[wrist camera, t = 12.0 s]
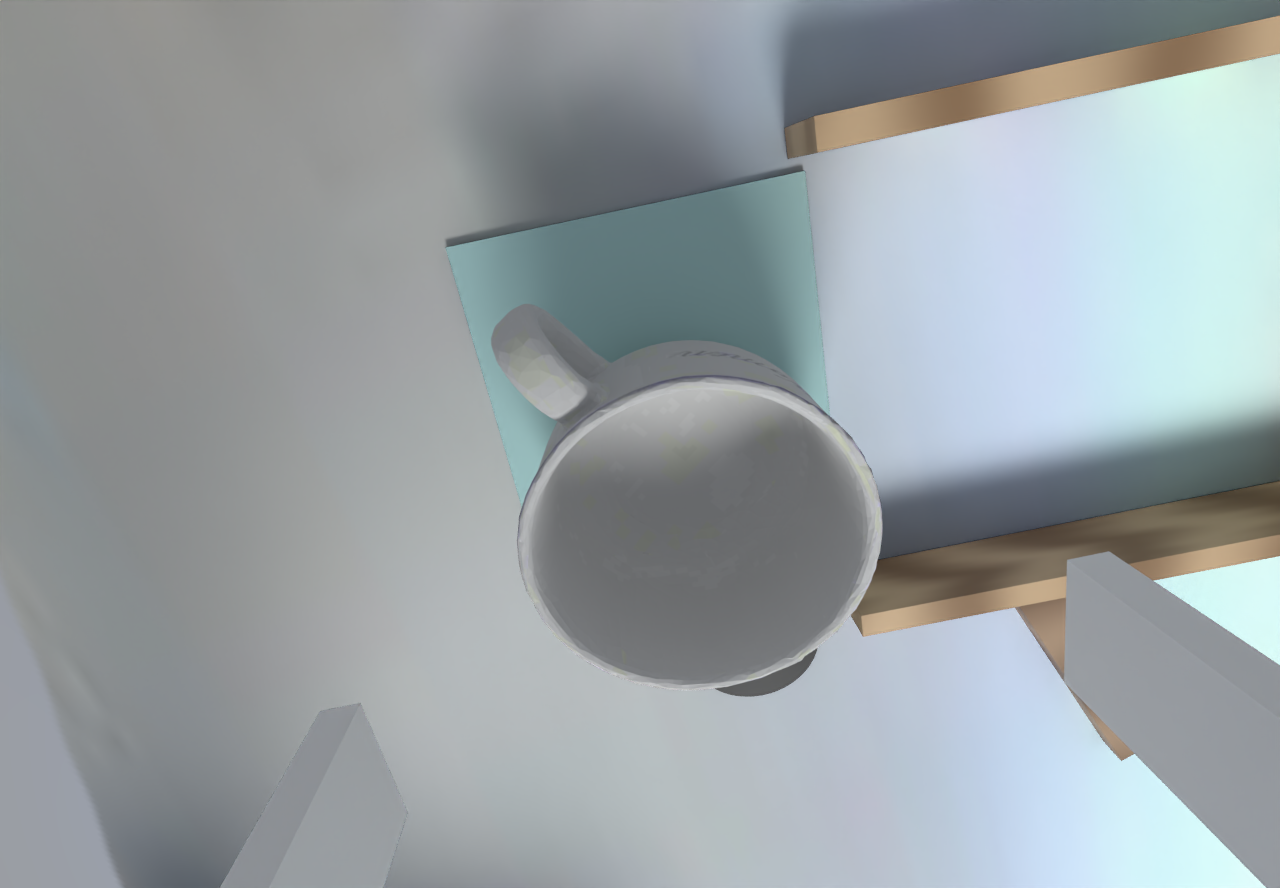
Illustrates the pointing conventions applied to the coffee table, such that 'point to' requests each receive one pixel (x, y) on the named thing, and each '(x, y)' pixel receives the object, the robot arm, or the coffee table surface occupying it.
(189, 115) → the coffee table surface
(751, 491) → the teacup
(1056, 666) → the walnut bar
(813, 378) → the mat
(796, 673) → the disc
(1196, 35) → the cubby
